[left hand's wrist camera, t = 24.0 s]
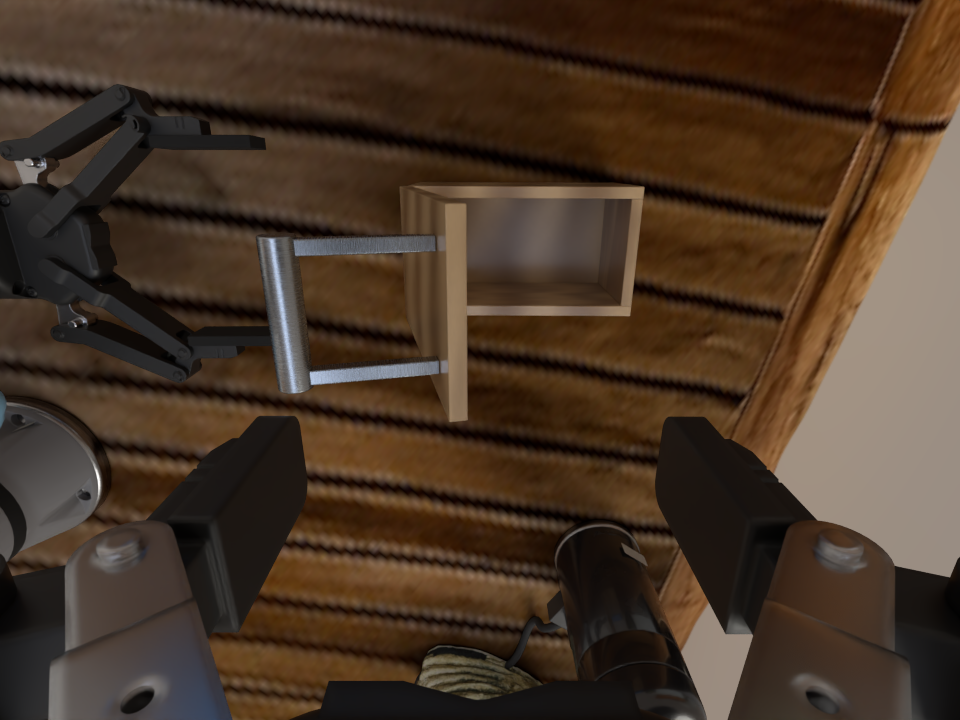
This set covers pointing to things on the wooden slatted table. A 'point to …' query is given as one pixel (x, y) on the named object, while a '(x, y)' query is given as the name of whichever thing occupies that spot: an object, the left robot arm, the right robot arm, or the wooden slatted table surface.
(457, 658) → the fossil
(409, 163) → the wooden slatted table surface
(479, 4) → the wooden slatted table surface
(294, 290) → the lid
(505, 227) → the chest
